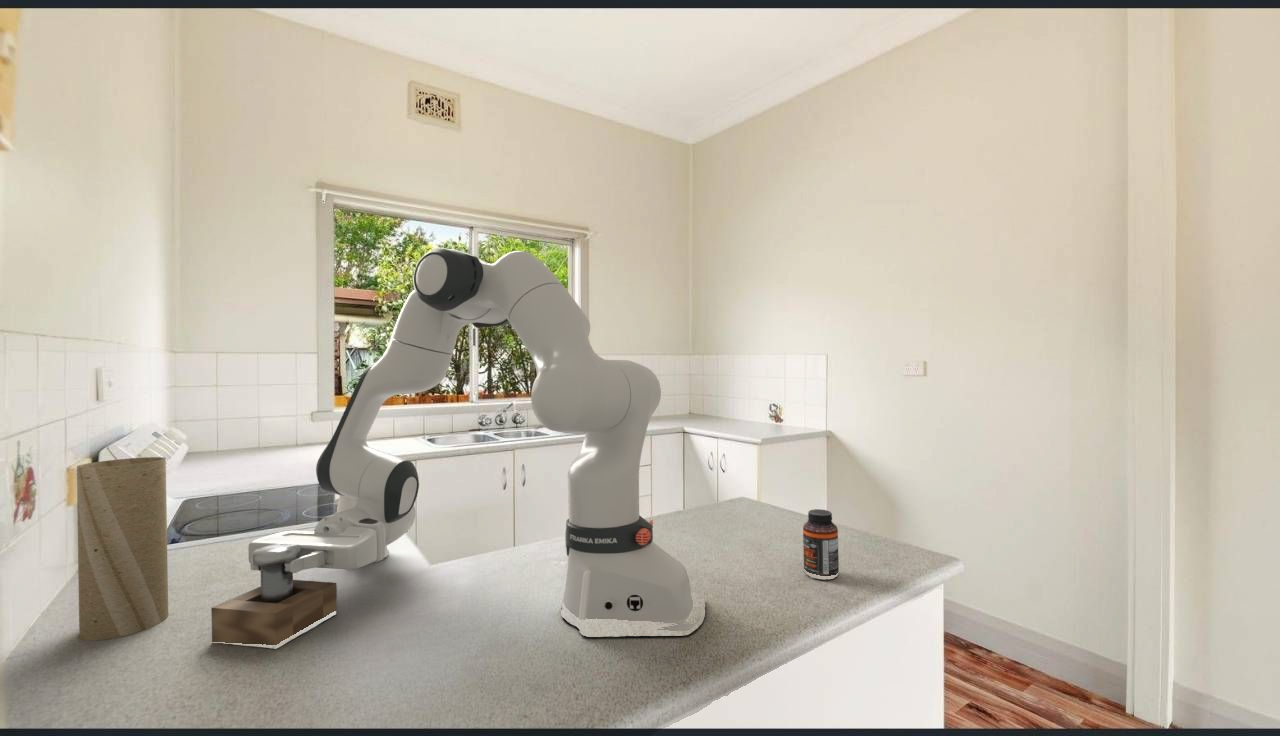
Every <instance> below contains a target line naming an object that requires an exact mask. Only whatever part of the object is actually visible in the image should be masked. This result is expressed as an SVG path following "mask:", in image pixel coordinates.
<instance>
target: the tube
mask: <svg viewBox="0 0 1280 736" xmlns="http://www.w3.org/2000/svg"><path fill="white" fill-rule="evenodd" d="M166 461H167V459H166V457H161V456H151V457H150V456H148V457H131V458H120V459H110V460H103V461H96V462H89V463H83V464H80V465H79V464H78V465H77V466H76V500H77V501H76V502H77V503H76V504H77V509H76V510H77V511H76V512H77V515H76V516H77V564H78V566H77V567H78V568H77V569H78V571H77V572H78V573H77V574H78V575H77V576H78V621H79V622H78V623H79V624H78V627H79V630H78V633H79V638H80V639H81V640H84V641H89V642H90V641H105V640H112V639H116V638H117V639H118V638H121V637H122V638H123V637H126V636H129V635H132V634H136V633H139V632H143V631H146V630H147V629H149V628H152V627H154V626H157V625H159V624H160V623H162V622H164V621H165V620H167V619H168V617H169V584H168V583H169V575H168V574H169V570H168V564H169V563H168V562H169V561H168V521H167V520H168V519H167V517H168V515H167V514H168V513H167V511H168V510H167V509H168V508H167V464H166V463H167V462H166Z"/></svg>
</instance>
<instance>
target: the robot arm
mask: <svg viewBox="0 0 1280 736" xmlns="http://www.w3.org/2000/svg"><path fill="white" fill-rule="evenodd" d="M412 283H413V289H414V290H413V291H412V292H410V293H409V294H408V297H407V299H406V300H405V302H404V304H403V306H402V308H401V311H400V313H399V315H398V318H397V319H396V323H395V325H394V328H393V331H392V333H391V334H392V335H391V338H390V340H389V343H388V346H387V348H386V350H385V351H384V353H383V354H382V356H381V357H380V359H379V360H377V362H373V363H371V364H370V365H368V366H367V367H366V368H365V370H364V372H363V373H362V374H361V376H360V377H359V379H358V381H357V383H356V385H355V387H354V390H353V392H352V394H351V395H350V398H349V401H348V402H347V404H346V407H345V409H344V411H343V413H342V416H341V417H340V421H339V423H338V425H337V427H336V429H335V431H334V433H333V435H332V437H331V438H330V441H329V443H328V444H327V445H326V447H325V448H324V450H323V451H322V452H321V454H320V456H319V458H318V459H317V462H316V467H315V473H316V474H315V475H316V478H317V482H318V484H319V486H320V488H321V489H322V490H324V491H325V492H328V493H331V494H334V495H335V494H336V495H338V496H340V495H342V496H347V497H350V498H352V499H355V500H358V501H357V504H356V506H355V507H353V508H351V509H347V510H344V511H341V512H338V513H337V512H336V513H332V514H331V515H327V516H324V517H323V518H321V520H319V521H318V522H317V524H316V525H315V527H314V530H298V529H297V530H296V529H293V530H291V529H290V530H284V531H279V532H276V533H273V534H269V535H265V536H262V537H259V538H255V539H253V540H251V541H250V542H249V543H248V551H247V553H248V563H250V570H251V571H260V572H261V567H260V566H254V565H252V552H254V551H255V550H257V549H260V548H263V547H266V546H271V545H276V544H283V543H296V544H299V545H300V557H299V558H296V559H293V560H291V561H289V562H288V563H285V567H286V568H285V572H287V573H293V574H296V573H298V572H301V571H305V570H309V569H310V570H311V569H317V568H319V569H331V570H332V569H333V570H356V569H360V568H362V567H365V566H369V564H372V563H377V562H380V561H382V560H384V559H386V557H385V546H386V547H387V546H389V545H390V544H392V543H394V542H396V541H397V540H399V539H401V537H403V536H404V535H405V534H406V533H407V532H408V531H410V529H411V527H412V526H413V524H414V523H415V520H416V514H417V513H416V507H415V502H416V500H417V498H418V494H419V487H420V483H419V481H420V480H419V475H418V471H417V468H416V466H415V464H414V462H412V461H410V460H407V459H405V458H402V457H399V456H396V455H394V454H391V453H388V452H387V453H386V452H384V451H381V450H378V449H376V448H373V447H370V446H369V445H368V443H367V437H368V435H369V433H370V431H371V429H372V426H373V424H374V423H375V422H374V421H375V420H376V417H377V415H378V413H379V411H380V409H381V408H382V406H383V404H384V403H385V402H386V401H387V400H388V399H390V398H392V397H394V396H397V395H398V396H400V395H409V394H417V393H418V394H419V393H423V392H426V391H429V390H431V389H433V388H435V387H437V386H438V385H439V384H440V383H442V381H444V378H445V377H446V375H447V374H448V371H449V369H450V365H451V363H452V357H453V354H454V350H455V347H456V342H457V338H458V336H459V333H460V331H461V330H462V328H464V327H465V326H467V325H470V324H472V325H473V326H474V328H477V329H478V328H488V327H503V326H507V325H510V326H511V327H512V329H513V330H514V331H515V333H516V334H517V336H518V338H519V340H521V343H523V346H524V347H525V349H526V350H527V352H528V354H529V355H530V357H531V358H532V359H531V360H532V361H533V364H534V368H535V371H536V377H535V379H534V382H533V384H532V388H531V393H530V394H531V395H530V399H531V400H530V401H531V402H530V403H531V407H532V411H533V413H534V415H535V417H536V419H537V420H538V422H539V423H540V424H541V425H542V426H543V427H544V428H546V429H548V430H550V431H553V432H559V433H565V434H571V435H581V434H582V435H583V434H585V435H584V438H583V441H582V444H581V448H580V450H579V452H578V453H577V456H576V457H575V459H573V461H572V462H571V464H570V466H569V468H568V472H567V499H568V500H567V501H568V519H566V521H565V537H564V538H565V548H566V556H567V570H566V580H565V581H566V582H565V589H564V592H563V598H562V602H563V603H564V605H565V607H566V608H567V609H568V610H569V611H570V612H571V613H572V614H574V615H575V616H576V617H578V618H579V619H580V620H582V619H583V620H585V619H586V618H587V619H596V618H597V619H617V620H628V621H651V622H660V623H661V622H664V623H676V624H678V625H674V624H672V625H674V626H669V627H670V628H669V627H662V628H664V629H657V630H669V631H679V630H681V631H685V630H686V631H687V630H689V629H690V628H692V627H693V626H695V624H697V623H694V624H689V623H687V624H683V623H686V622H684V621H685V620H686V619H687V618H688V617H689V615H690V613H691V611H692V608H693V600H692V594H691V591H692V587H691V583H690V579H689V575H688V572H687V569H686V568H685V566H684V565H683V563H682V562H681V561H680V560H678V559H676V558H675V557H674V556H672V555H671V554H670V553H668V552H667V551H665V550H664V549H663V548H662V547H661V546H660V545H658V544H657V543H655V542H654V541H653V539H654V536H653V534H654V531H653V528H654V525H653V524H654V521H653V519H650V521H647V520H646V519H645V518H643V517H642V516H641V515H640V467H641V466H640V464H641V459H642V452H643V447H644V442H645V439H646V434H647V430H648V427H649V424H650V420H651V418H652V416H653V415H654V413H655V411H656V410H657V408H658V407H659V404H660V401H661V398H662V397H661V395H662V391H661V385H660V381H659V379H658V376H657V375H656V374H655V373H654V372H653V370H651V369H650V368H649V367H646V366H644V365H642V364H639V363H638V362H634V361H632V360H627V359H605V358H603V357H601V356H600V355H598V354H597V353H596V351H595V350H594V349H593V347H592V345H591V343H590V340H589V335H590V332H591V323H590V320H589V318H588V316H587V315H586V314H585V312H584V311H583V310H582V308H581V307H580V305H579V304H578V302H576V301H575V299H574V298H573V296H572V295H571V293H570V292H569V291H568V290H567V289H566V287H565V285H563V283H562V282H561V281H560V280H559V279H558V277H557V275H555V274H554V273H553V271H551V269H550V268H549V267H547V266H546V264H544V262H542V261H541V260H540V259H538V258H537V257H536V256H535V255H533V254H532V253H530V252H527V251H524V250H515V251H510V252H508V253H505V254H504V255H502V256H501V257H499V258H498V259H497V260H496V261H494V262H493V263H489V262H488V261H485V260H483V259H480V258H478V257H477V256H476V255H472V254H470V253H466V252H464V251H461V250H457V249H453V248H446V247H445V248H444V247H441V248H434V249H431V250H429V251H427V252H426V253H425V254H423V256H422V257H420V259H419V260H418V262H417V263H416V266H415V269H414V272H413V279H412ZM700 618H701V617H700ZM700 618H697V619H696V620H697V622H698V621H699V620H700Z"/></svg>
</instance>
